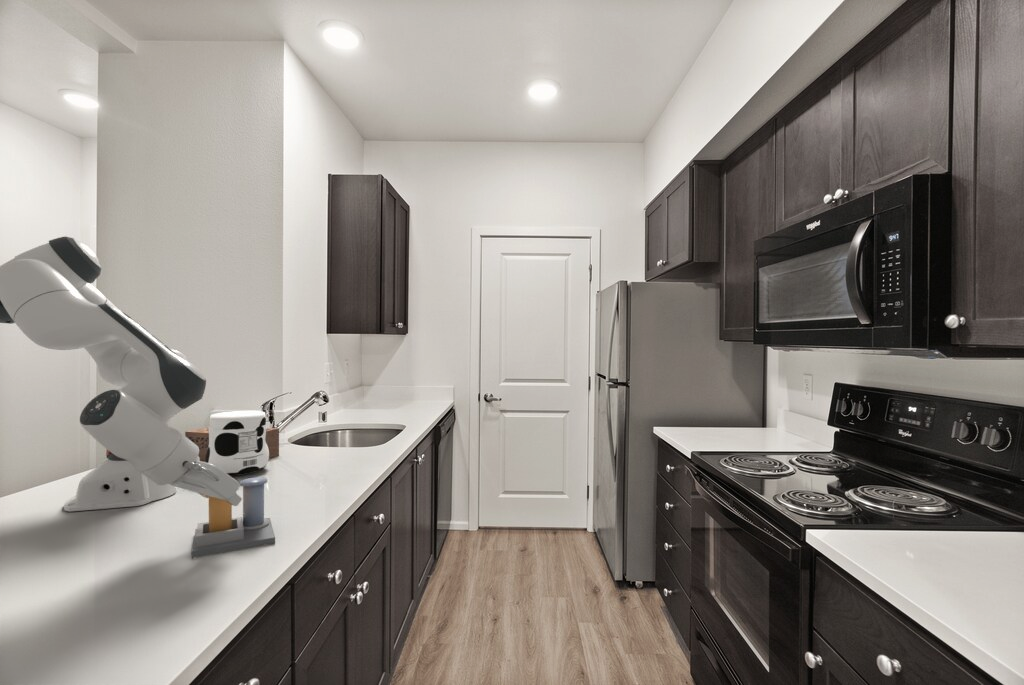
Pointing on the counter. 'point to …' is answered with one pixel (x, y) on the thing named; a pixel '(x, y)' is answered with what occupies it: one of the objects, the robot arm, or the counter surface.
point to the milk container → (238, 442)
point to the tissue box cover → (202, 441)
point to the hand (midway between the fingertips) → (223, 498)
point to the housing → (239, 525)
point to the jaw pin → (219, 515)
